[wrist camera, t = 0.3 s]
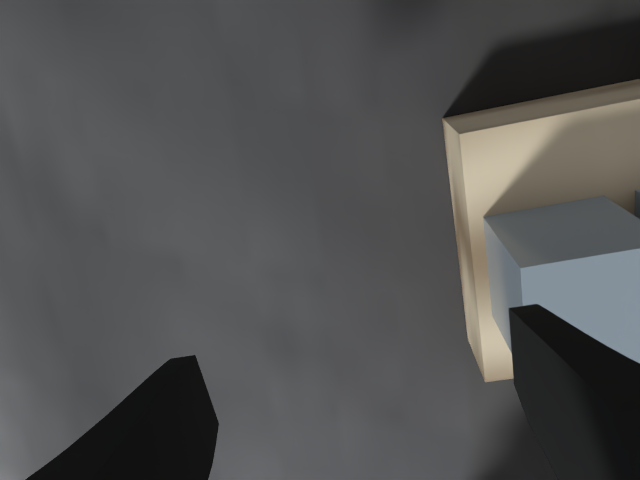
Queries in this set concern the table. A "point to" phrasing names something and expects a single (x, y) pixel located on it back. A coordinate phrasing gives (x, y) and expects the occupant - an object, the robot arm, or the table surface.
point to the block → (637, 203)
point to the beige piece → (534, 180)
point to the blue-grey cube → (569, 268)
